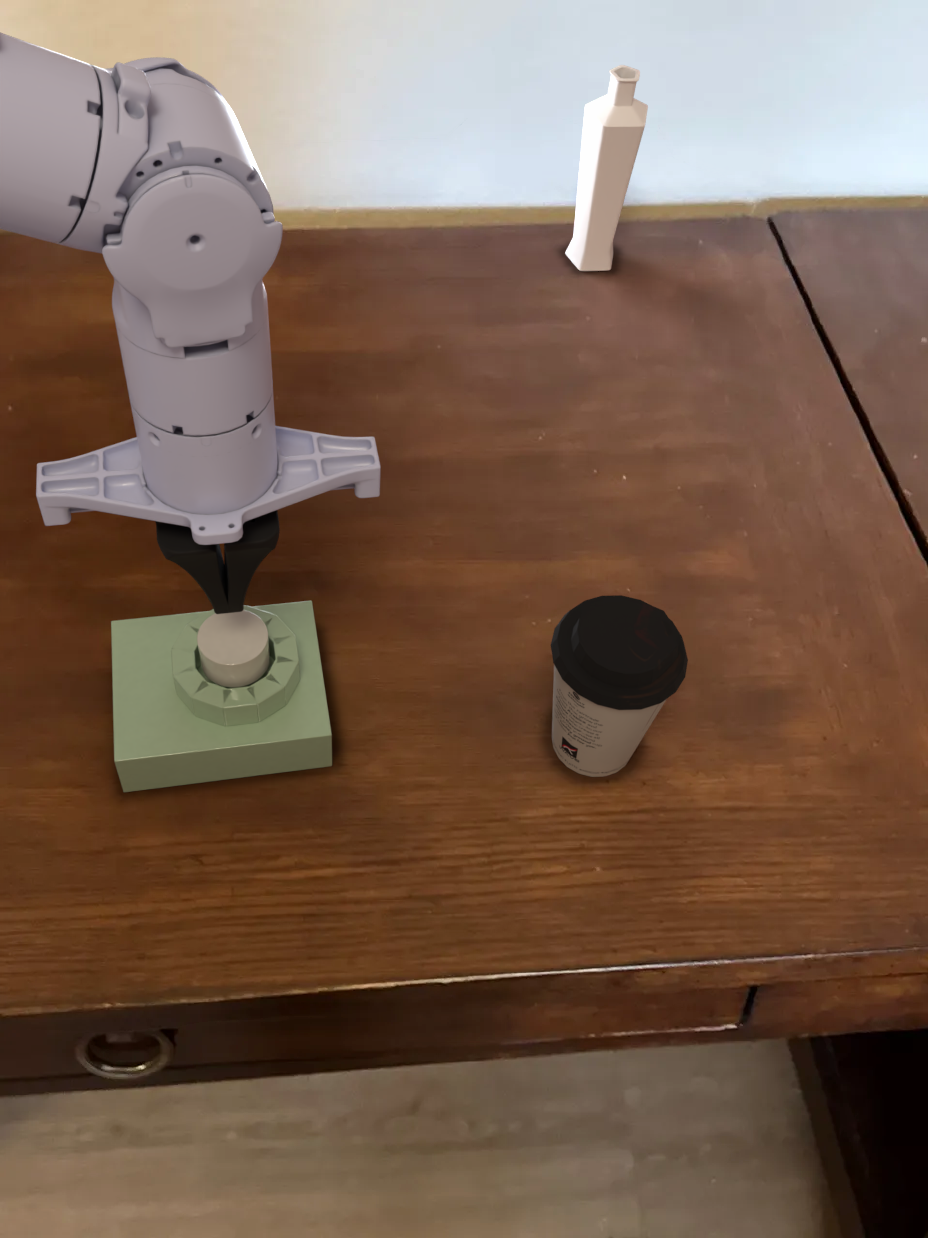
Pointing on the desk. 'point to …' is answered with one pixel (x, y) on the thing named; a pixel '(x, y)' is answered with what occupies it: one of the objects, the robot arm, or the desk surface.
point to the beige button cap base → (215, 703)
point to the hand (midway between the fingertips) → (227, 597)
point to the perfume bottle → (606, 168)
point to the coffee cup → (611, 680)
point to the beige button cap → (233, 648)
